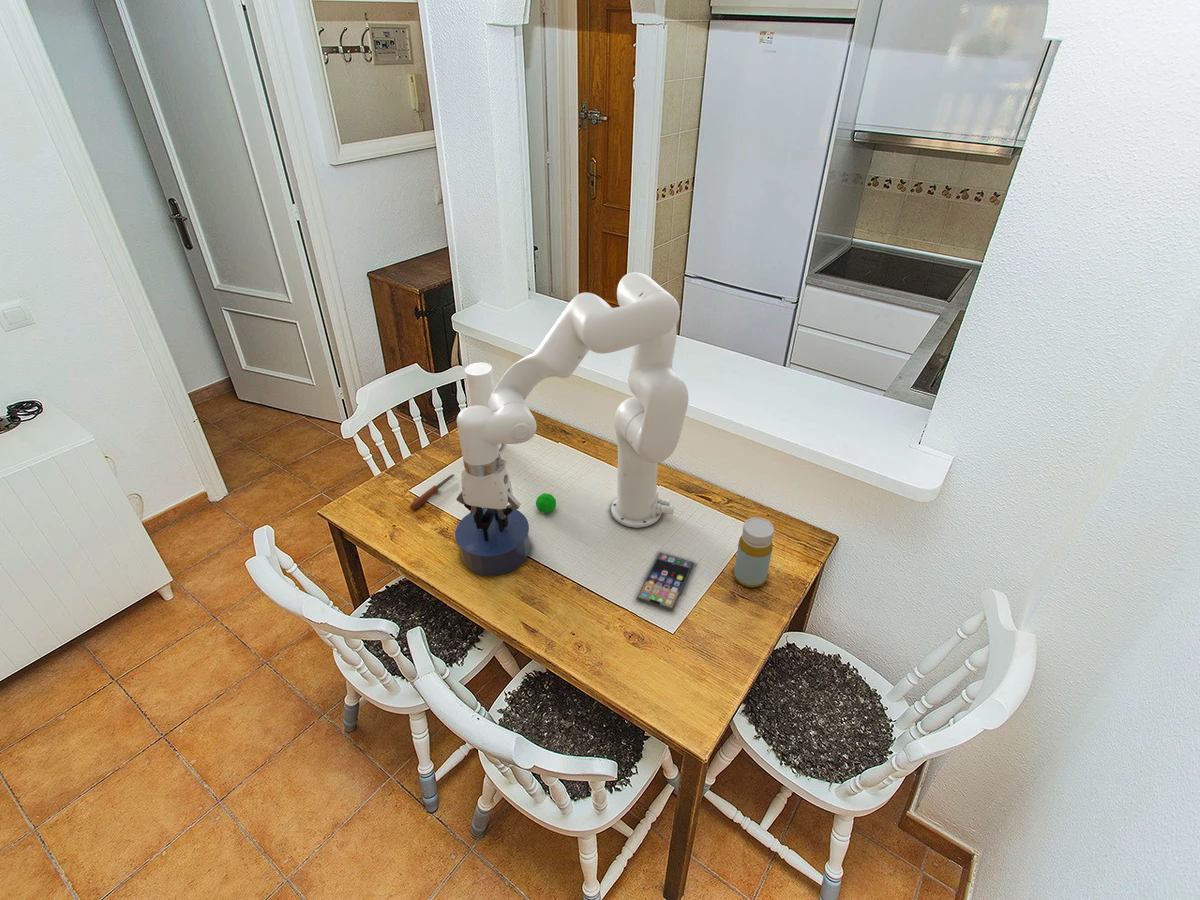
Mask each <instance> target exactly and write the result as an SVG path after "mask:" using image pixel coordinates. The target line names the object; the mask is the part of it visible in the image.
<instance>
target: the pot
mask: <svg viewBox="0 0 1200 900" xmlns="http://www.w3.org/2000/svg"><path fill="white" fill-rule="evenodd" d="M529 540H530V539H529V534H528V535H527V537H526V539H525V541H524V542H523V543H522V544H521V545H520V546H519V547H518V548H516V549H515V550H513V551H511V552H509V553H507V554H504V555H501V556H497V557H477V556H473V555H470V554H468V553H466V552H464V551H463V550H462V549H461V548H460V547H459V546H458V548H459V553H460V558H461V560H462V563H463V565H464V566H465V567H466V568H467V569H468V570H469V571H470V572H472V573H475V574H476V575H480V576H485V577H497V576H501V575H505V574H509V573H511V572H513V571H515V570H516V569H518V568H519V567H521V566H522V565H523V564H524V562H525V561H526V560H527V558H528V556H529V553H530V541H529Z"/></svg>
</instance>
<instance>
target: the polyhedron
mask: <svg viewBox="0 0 1200 900" xmlns="http://www.w3.org/2000/svg"><path fill="white" fill-rule="evenodd" d="M535 507H536V509H537V510H539V512H540V513H543V514H550V513H552V512H553V511H554V510H555V509H556V507H557V500H556V498H555V497H554V496H553V495H552V494H551V493H546V492H544V493H542V494H540V495H538V496H537V498H536V500H535Z"/></svg>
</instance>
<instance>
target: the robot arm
mask: <svg viewBox="0 0 1200 900" xmlns="http://www.w3.org/2000/svg"><path fill="white" fill-rule="evenodd" d="M616 300H617V303H618V305H619V306H616V307H612V306H611V305H610V304H609V303H608V302H607V301H606V300H604V299H603V298H602V297H600V296H599V295H597V294H595V293H593V292H581V293H578V294H576V295H575V296H574V297H573V298H572V299H571V300H570V301H569V302H568V304H567V306H566V307H565V308H564V310H563V311H562V313H561V314H560V316H559V317H558V318H557V320H556V321H555V322H554V324H553V325H552V326H551V328H550V329H549V331H548V332H547V334H546V335H545V337H544V338H543V339H542V341H541V342H540V344H539V345H538V346H537V348H536V349H535V350H534V351H532V352H531V353H529V354H527V355H526V356H524V357H522V358H521V359H520V360H518V361H516V362H514V364H512V365H511V366H510V367H508V369H507V370H506V372H504V374H503V375H502V376H501V378H500V380H499V381H498V383H497V384H496V385H495V386H494V387H495V389H494V390H493V392H492V394H491V396H490V399H489V408H487V407H485V406H479V405H476V406H470V405H469V406H467V407H465V408H463V409H461V411H459V413H458V415H457V417H456V425H457V431H458V438H459V443H460V450H461V457H462V461H463V464H462V467H461V480H460V481H461V492H459V494H458V495H457V497H456V499H455V500H456V501H457V502H458V503H460V504H461V505H463V506H464V507H465V508H466V509H467V510H468V511H469V513H471V514H472V515H473V517H474V522H475V523H476V527H477V529H480V522H481V520H482V518H483V516H484V514H483V509H482V508H483V507H484V508H492V509H496V510H497V512H498V514H499V518H498V525H499V531H500V532H503V531H504V529H505V527H507V526H508V517H507V516H508V515H509V514H510V513H511V512H512V511H515V510H519V509H520V507H521V504H522V503H521V502H520V501H519V500H518V499H517V498H516V497H515V496H514V493H513V487H512V481H511V478H510V474H509V472H508V469H507V463H508V461H507V459H503V458H502V456H501V453H500V449H499V446H498V444H502V445H519V444H523V443H526V442H528V441H530V440H531V439H532V438H533V437H534V436H535V435H536V433H537V429H538V425H537V421H536V419H535V417H534V415H533V414H532V413H533V412H532V411H531V410H530V408H529V406H528V404H527V403H526V402H525V401H526V399H527V398H528V396H529V395H530V394H531V392H532V390H533V389H534V388H535V387H536V386H537V385H538V384H539V383H540V382H542V381H544V380H545V379H548V378H551V377H552V378H553V377H556V378H562V379H567V378H569V377H571V376H572V375H573V373H574V372H575V371H576V369H577V368H578V366H580V364H581V362H582V361H583V359H584V358H585V357H586V355H588V353H589V351H591V352H592V353H596V354H601V355H602V354H603V355H604V354H611V353H615V352H618V351H619V352H620V351H622V350H625V349H628V348H632V347H633V350H632V354H631V355H632V356H631V360H630V366H629V370H628V374H627V385H628V388H629V390H630V392H631V393H632V394H633V396H630V397H628V398H626V399H624V400H623V401H622V402H620V404H619V405H618V406H617V409H616V410H615V414H614V429H615V436H616V443H617V444H616V446H617V497H616V498H615V499H613V501H612V503H611V507H610V511H611V515H612V517H613V519H614V520H615V521H617V522H618V523H619V524H621V525H623V526H625V527H629V528H634V529H635V528H636V529H637V528H638V529H639V528H645V527H649V526H653V524H655V523H656V522H658V521H659V520H660V518H661V516H662V513H665V514H666V515H667V514H669V515H674V510H675V506H673V505H670V504H671V500H670V499H661V497H660V495H659V494H660V493H659V492H657V489H658V471H659V470H658V469H659V464H660V463H662V462H664V461H666V460H667V459H668V458H670V457H671V456H672V455H673V453H674V452H675V450H676V448H677V446H678V443H679V440H680V437H681V433H682V430H683V427H684V421H685V418H686V414H687V411H688V406H689V391H688V387H687V385H686V383H685V382H684V380H683V379H682V378H681V377H680V376H679V375H678V374H677V373H676V372H675V370H674V368H673V360H674V356H675V355H674V354H675V349H676V343H677V325H678V323H679V320H680V315H681V310H680V305H679V302H678V301H677V300H676V298H675V297H674V296H673V295H672V294H671V293H670V292H668V291H667V290H666V289H664V288H663V287H662V286H660V284H658V283H657V282H656V281H655V280H654V279H653V278H651V277H650V276H649V275H647V274H645V273H642V272H639V271H632V272H628V273H626V274H624V275H623V276H622V277H621V279H620V280H619V282H618V284H617V287H616Z"/></svg>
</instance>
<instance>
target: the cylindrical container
mask: <svg viewBox="0 0 1200 900" xmlns="http://www.w3.org/2000/svg"><path fill="white" fill-rule="evenodd" d="M464 374H465V380H466V388H467V395H468V401H469V407H470V406H476V405H479V406H485V407H487V408H489V399H490V396H491V394H492V392H493V390H494V389H495V387H496V386H495V380H494V372H493V367H492V365H491V364H490V363H487V362H481V361H479V362H473V363H470V364H468V365H466V366H465V367H464ZM502 445H503V444H498V446H499V450H500V449H501V448H502Z"/></svg>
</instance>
